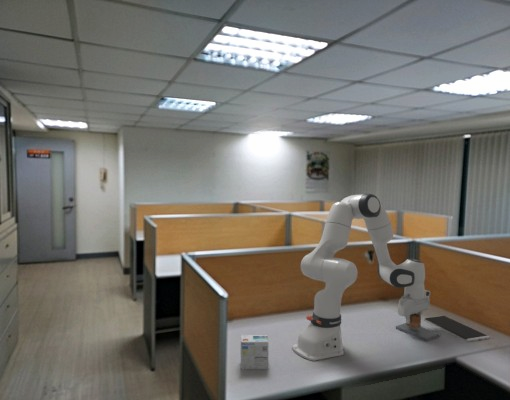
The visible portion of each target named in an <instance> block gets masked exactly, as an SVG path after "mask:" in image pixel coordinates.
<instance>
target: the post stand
mask: <svg viewBox="0 0 510 400" xmlns="http://www.w3.org/2000/svg"><path fill="white" fill-rule="evenodd" d="M411 316H415V315H411ZM395 330H398V331H400V332H403V333H405V334H407V335H410V336H412V337H415V338H418V339H420V340H423V341H425V342H428V341H431V340H433V339H436V338H438V337H440V333H439V332H436V331H434V330H430V329H427V328H426V327H423V326H421V327H418V328H414V327H410V326H407V324H406V322H405V323H402V324H398V325H396V326H395Z"/></svg>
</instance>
